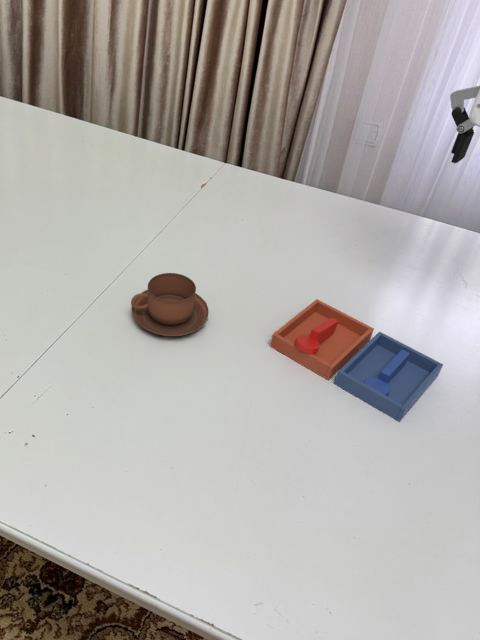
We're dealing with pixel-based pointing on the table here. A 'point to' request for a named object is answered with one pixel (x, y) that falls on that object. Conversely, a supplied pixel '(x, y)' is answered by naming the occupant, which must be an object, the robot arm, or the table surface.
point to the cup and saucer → (170, 306)
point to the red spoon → (316, 336)
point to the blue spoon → (388, 373)
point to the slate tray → (402, 386)
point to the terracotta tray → (332, 349)
